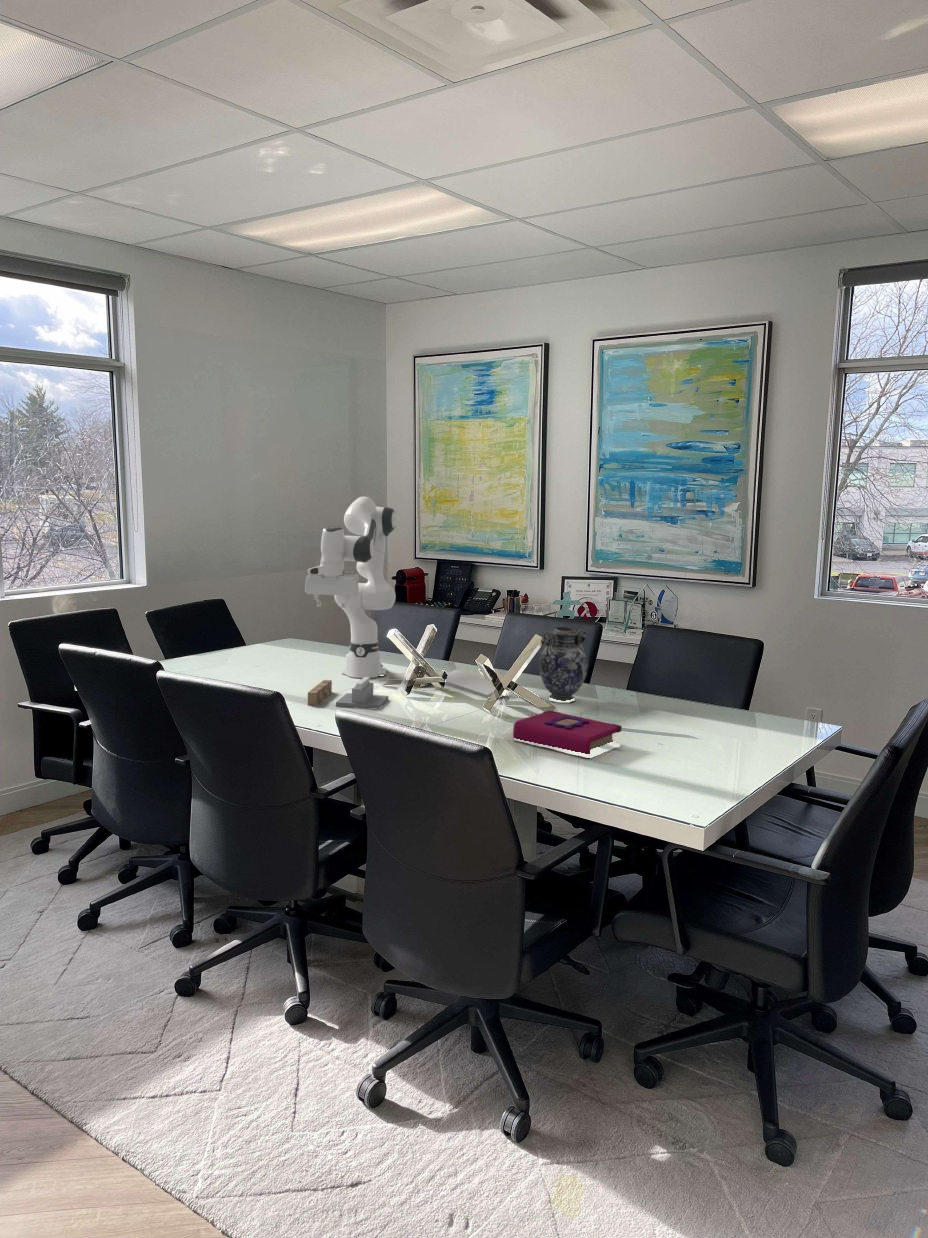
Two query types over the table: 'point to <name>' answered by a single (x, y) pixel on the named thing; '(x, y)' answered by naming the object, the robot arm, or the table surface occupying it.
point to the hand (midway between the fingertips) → (331, 607)
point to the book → (565, 731)
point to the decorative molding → (470, 683)
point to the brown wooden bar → (319, 692)
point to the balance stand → (362, 696)
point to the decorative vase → (563, 662)
